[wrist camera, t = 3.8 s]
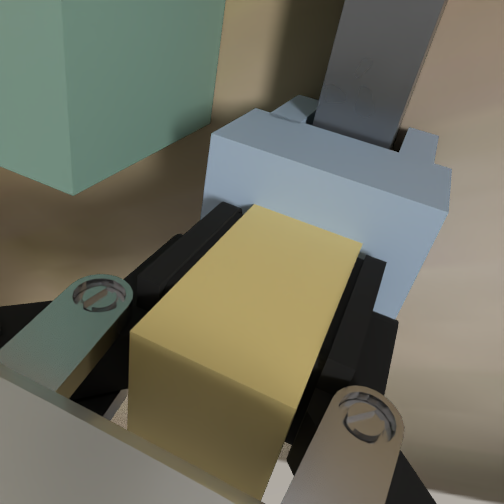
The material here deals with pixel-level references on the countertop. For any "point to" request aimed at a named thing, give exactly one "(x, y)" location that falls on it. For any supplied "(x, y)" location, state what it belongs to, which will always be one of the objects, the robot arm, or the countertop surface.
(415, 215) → the carriage
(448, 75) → the countertop surface
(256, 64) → the countertop surface
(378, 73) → the rail
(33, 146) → the green box
